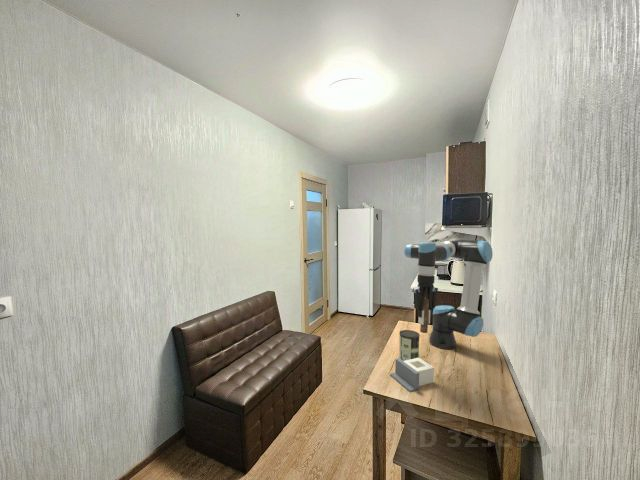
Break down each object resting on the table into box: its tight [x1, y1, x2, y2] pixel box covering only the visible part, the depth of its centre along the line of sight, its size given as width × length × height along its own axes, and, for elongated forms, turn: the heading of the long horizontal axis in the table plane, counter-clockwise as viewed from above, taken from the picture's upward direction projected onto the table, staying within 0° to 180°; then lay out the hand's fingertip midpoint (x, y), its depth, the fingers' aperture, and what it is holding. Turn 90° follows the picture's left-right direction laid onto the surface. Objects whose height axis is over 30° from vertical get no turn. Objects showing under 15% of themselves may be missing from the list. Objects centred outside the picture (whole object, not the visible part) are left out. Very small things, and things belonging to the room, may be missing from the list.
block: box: [403, 357, 435, 387], centre depth 127 cm, size 10×10×7 cm
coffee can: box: [398, 329, 420, 361], centre depth 146 cm, size 10×10×14 cm
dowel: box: [419, 297, 429, 334], centre depth 129 cm, size 3×3×16 cm
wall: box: [389, 357, 420, 393], centre depth 124 cm, size 5×14×8 cm, turn 21°
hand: (424, 323), depth 129 cm, fingers closed on dowel, 3 cm apart
